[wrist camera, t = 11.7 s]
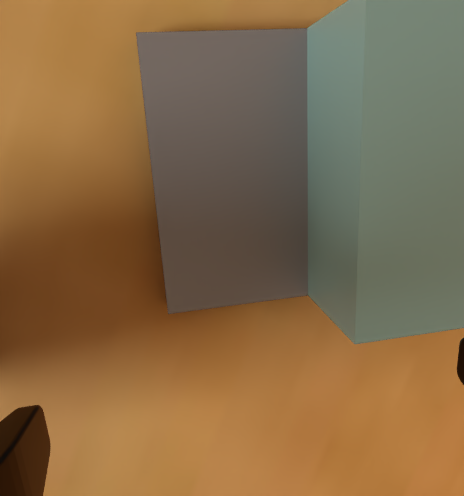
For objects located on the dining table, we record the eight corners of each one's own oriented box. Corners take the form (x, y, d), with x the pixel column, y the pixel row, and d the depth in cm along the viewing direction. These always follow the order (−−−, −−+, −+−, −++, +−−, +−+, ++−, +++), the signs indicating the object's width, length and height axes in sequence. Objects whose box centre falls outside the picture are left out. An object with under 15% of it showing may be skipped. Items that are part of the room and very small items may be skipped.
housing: (307, 294, 20) (354, 344, 16) (307, 28, 17) (366, -12, 12) (417, 281, 21) (492, 323, 17) (437, 25, 18) (538, -13, 13)
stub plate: (167, 303, 20) (171, 345, 16) (137, 39, 17) (132, 11, 13) (516, 258, 24) (589, 284, 20) (549, 28, 20) (646, 2, 16)
